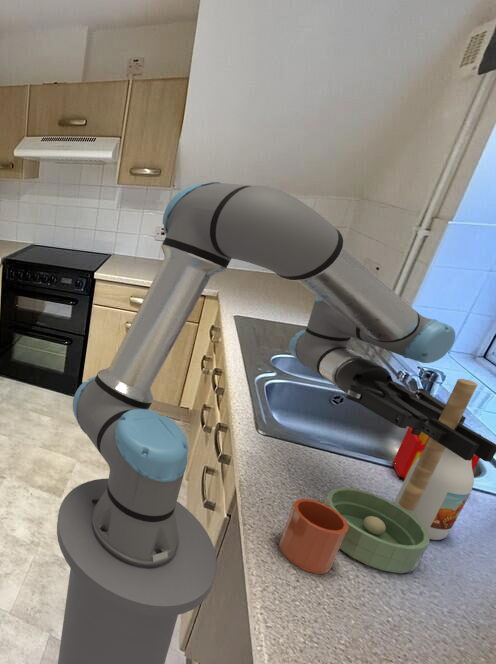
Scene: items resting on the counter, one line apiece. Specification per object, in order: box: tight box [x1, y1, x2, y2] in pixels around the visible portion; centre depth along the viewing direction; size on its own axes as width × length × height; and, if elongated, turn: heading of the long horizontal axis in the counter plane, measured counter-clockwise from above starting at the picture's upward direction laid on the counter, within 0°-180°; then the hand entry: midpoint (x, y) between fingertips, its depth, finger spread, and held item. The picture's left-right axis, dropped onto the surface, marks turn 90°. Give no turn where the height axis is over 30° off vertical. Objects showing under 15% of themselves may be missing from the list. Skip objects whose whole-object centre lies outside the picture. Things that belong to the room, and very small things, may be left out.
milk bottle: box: [393, 448, 475, 541], centre depth 75 cm, size 8×8×20 cm
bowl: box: [323, 486, 431, 574], centre depth 73 cm, size 13×13×6 cm
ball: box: [363, 516, 386, 535], centre depth 75 cm, size 3×3×3 cm
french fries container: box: [391, 427, 481, 481], centre depth 87 cm, size 7×9×14 cm
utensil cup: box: [279, 498, 349, 575], centre depth 70 cm, size 7×7×9 cm
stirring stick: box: [399, 378, 478, 511], centre depth 65 cm, size 2×2×24 cm
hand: (481, 453), depth 59 cm, fingers closed on stirring stick, 2 cm apart
